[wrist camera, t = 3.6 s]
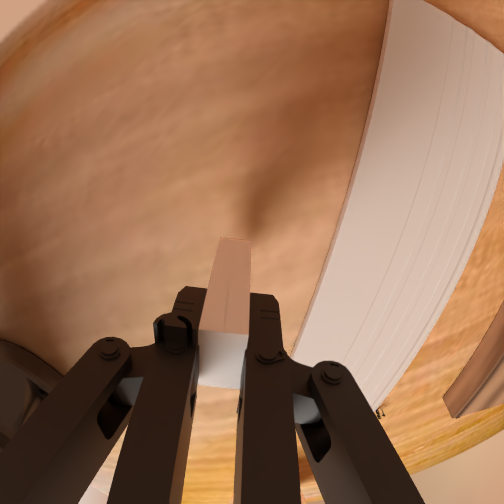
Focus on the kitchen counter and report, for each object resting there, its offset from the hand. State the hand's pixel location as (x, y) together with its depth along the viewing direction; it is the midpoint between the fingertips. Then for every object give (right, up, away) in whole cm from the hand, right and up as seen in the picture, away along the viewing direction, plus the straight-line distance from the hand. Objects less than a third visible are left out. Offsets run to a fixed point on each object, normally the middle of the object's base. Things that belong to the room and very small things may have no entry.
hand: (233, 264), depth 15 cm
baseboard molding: (+11, 0, +3) cm, 11 cm away
